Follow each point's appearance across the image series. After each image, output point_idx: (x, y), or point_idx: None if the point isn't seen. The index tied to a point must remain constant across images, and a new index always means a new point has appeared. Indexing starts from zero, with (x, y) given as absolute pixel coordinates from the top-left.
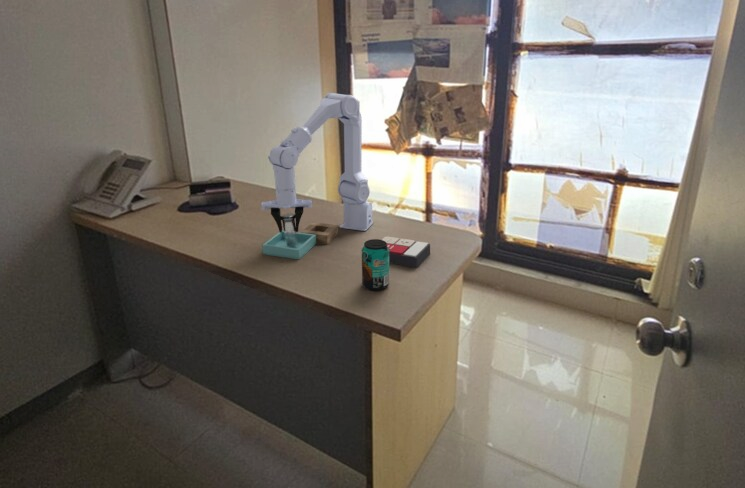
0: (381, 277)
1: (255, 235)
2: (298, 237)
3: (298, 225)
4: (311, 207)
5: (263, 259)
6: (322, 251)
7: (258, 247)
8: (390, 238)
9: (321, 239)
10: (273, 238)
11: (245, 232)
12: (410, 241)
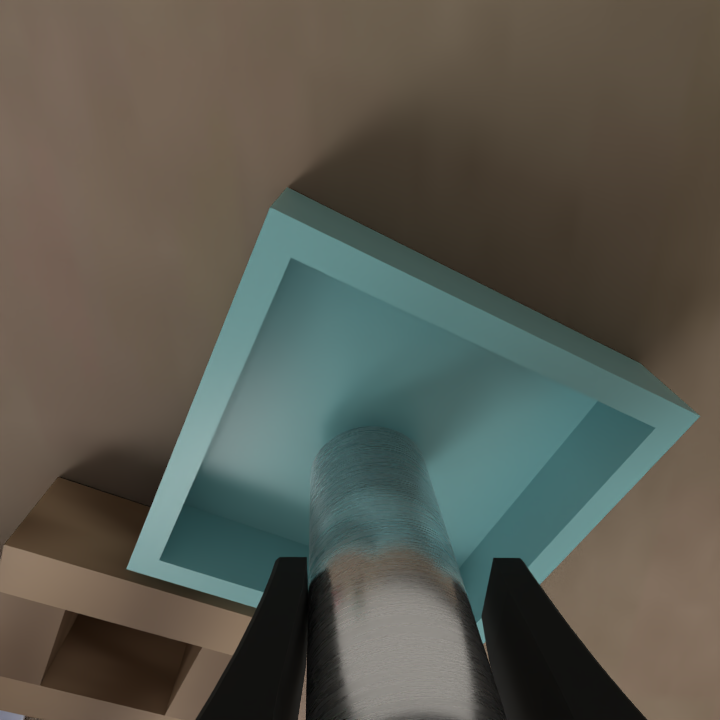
0: None
1: (629, 655)
2: None
3: (244, 639)
4: None
5: (661, 247)
6: (72, 348)
7: (650, 489)
8: None
9: (95, 524)
10: (552, 541)
11: (685, 693)
12: None
